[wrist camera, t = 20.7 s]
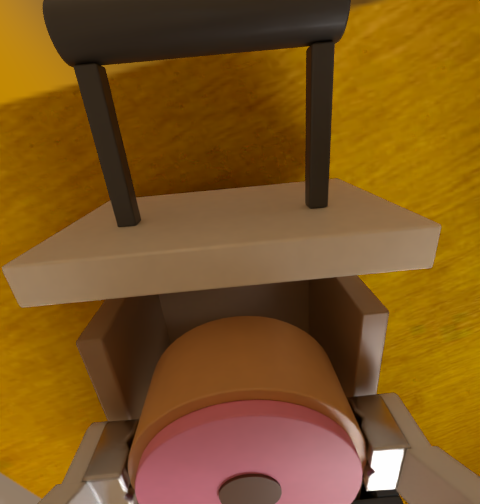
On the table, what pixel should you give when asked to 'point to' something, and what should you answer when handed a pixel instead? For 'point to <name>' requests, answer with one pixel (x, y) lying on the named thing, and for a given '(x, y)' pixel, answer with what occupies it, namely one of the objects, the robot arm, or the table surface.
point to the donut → (246, 421)
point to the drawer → (216, 211)
